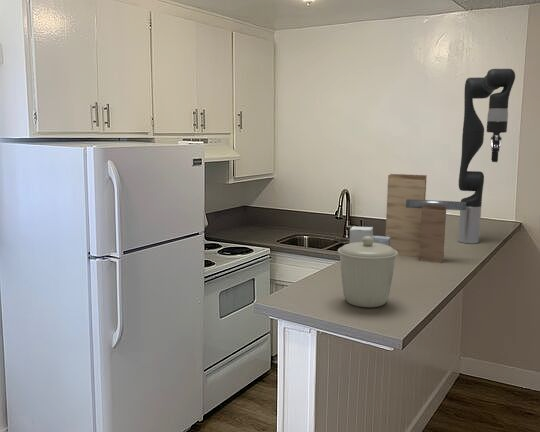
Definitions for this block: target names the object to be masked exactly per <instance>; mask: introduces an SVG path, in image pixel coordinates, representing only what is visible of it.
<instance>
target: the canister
mask: <svg viewBox="0 0 540 432" xmlns="http://www.w3.org/2000/svg"><path fill="white" fill-rule="evenodd" d="M373 242H374V239H373V237H371V236H364V237H363V238H362V242H356V243H350V242H349V243H346V244H344V245H342V246H341V247H339V248H338V249H337V252H338V253H337V254H339V258H340V259H339V262H340V271H341V273H340V274H341V283H342V293H343V297H344V299H345V301H346V302H347V303H349V304H350V305H352V306H355V307H360V308H379V307H382V306H383V305H385V304H386V303H387V302H388V300H389V296H390V293H391V287H392V282H393V281H392V280H393V275H394V267H395V263H396V262H395V261H396V257H397V256H398V252H397V251H396V250H394V249H393V248H392V247H390V246H388V245H385V244H380V243H373Z"/></svg>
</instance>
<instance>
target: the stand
mask: <svg viewBox="0 0 540 432" xmlns="http://www.w3.org/2000/svg"><path fill="white" fill-rule="evenodd" d="M386 192H387V195H386V196H387V197H386V213H385V214H386V215H385V216H386V217H385V219H386V220H385V237H390V247H392V248H393V249H394V250H396V251H397V252H398V255H400V256H412V257H419V254H420V235H421V215H422V208H406V199H411V200H426V197H427V194H426V193H427V174H404V173H403V174H402V173H399V174H398V173H390V174H388V175H387V191H386ZM398 255H397V256H398Z"/></svg>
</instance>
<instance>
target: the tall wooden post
mask: <svg viewBox="0 0 540 432" xmlns="http://www.w3.org/2000/svg"><path fill="white" fill-rule="evenodd" d="M446 217H447V210H446V207H444V206H426V205H422V215H421V235H420V254H419V256H418V258H419V259H418V261H420V262H431V263H440V262H441V263H443V261H444V253H445V252H444V251H445V240H446V239H445V237H446V236H445V235H446V220H447V218H446ZM441 263H440V264H441Z"/></svg>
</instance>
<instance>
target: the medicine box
mask: <svg viewBox="0 0 540 432" xmlns="http://www.w3.org/2000/svg"><path fill="white" fill-rule="evenodd" d="M373 239H374V242H373V243H380V244H385V245H388V246H390V237H386V236H382V235H373Z"/></svg>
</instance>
